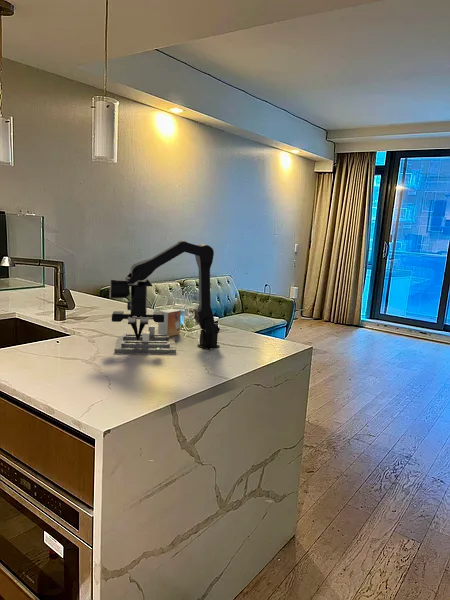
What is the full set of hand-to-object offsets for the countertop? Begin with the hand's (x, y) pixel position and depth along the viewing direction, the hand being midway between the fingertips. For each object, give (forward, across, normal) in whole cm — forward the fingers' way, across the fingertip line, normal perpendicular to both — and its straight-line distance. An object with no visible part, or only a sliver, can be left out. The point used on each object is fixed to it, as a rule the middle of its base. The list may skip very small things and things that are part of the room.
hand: (137, 339), depth 169 cm
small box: (+4, -12, -22) cm, 26 cm away
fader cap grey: (+2, -5, -10) cm, 11 cm away
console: (+4, -3, -4) cm, 6 cm away
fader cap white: (+2, -3, 0) cm, 4 cm away
